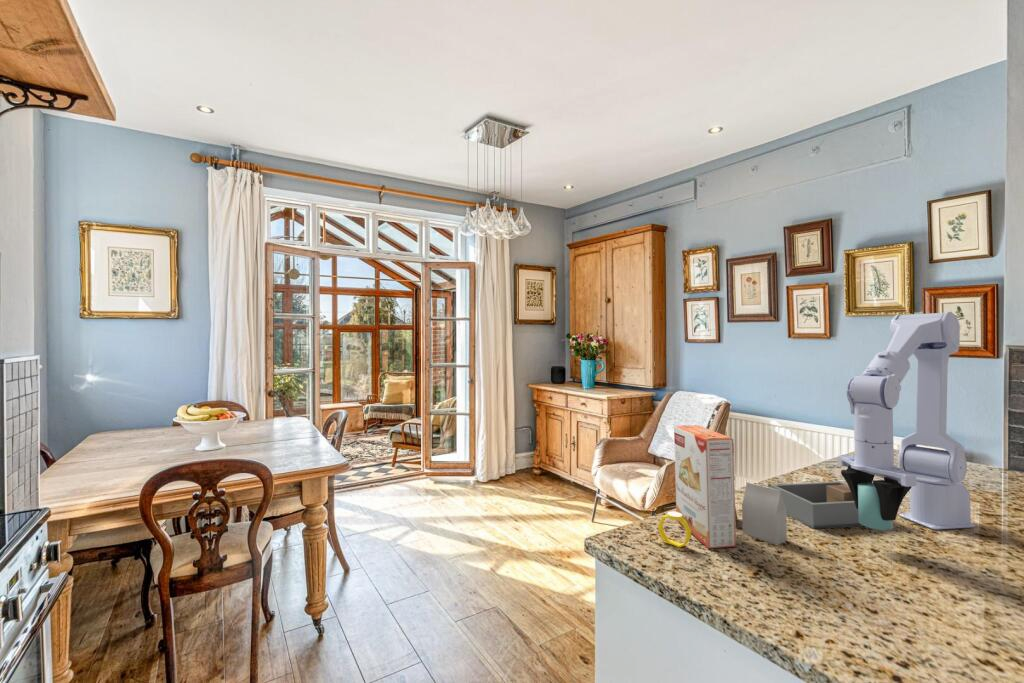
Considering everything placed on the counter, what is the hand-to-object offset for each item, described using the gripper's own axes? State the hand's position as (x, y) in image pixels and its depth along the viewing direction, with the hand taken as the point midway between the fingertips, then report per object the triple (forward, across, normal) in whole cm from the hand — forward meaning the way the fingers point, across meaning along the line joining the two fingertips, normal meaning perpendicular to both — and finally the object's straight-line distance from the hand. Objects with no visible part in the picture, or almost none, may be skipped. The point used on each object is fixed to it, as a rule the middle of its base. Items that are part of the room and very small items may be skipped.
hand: (875, 514), depth 87 cm
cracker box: (+7, -11, -28) cm, 30 cm away
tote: (+6, -17, +4) cm, 19 cm away
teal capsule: (+2, 0, 0) cm, 2 cm away
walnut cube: (+6, -17, +9) cm, 20 cm away
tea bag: (+7, -8, -16) cm, 20 cm away
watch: (+7, -7, -36) cm, 37 cm away
